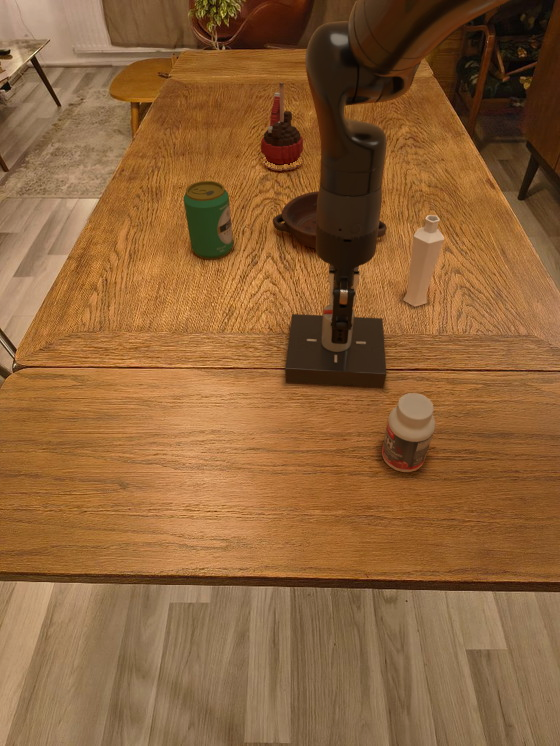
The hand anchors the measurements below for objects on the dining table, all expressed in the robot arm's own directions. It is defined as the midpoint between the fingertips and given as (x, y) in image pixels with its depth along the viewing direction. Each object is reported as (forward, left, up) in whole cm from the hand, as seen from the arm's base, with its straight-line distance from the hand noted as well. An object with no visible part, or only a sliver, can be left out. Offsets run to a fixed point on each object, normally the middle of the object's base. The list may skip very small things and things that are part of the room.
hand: (339, 321), depth 73 cm
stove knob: (0, +1, -3) cm, 3 cm away
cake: (+14, -65, -7) cm, 67 cm away
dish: (+2, -34, -7) cm, 35 cm away
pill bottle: (-9, +18, -7) cm, 21 cm away
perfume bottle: (-13, -14, -7) cm, 20 cm away
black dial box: (0, +1, -6) cm, 6 cm away
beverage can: (+24, -27, -7) cm, 37 cm away
